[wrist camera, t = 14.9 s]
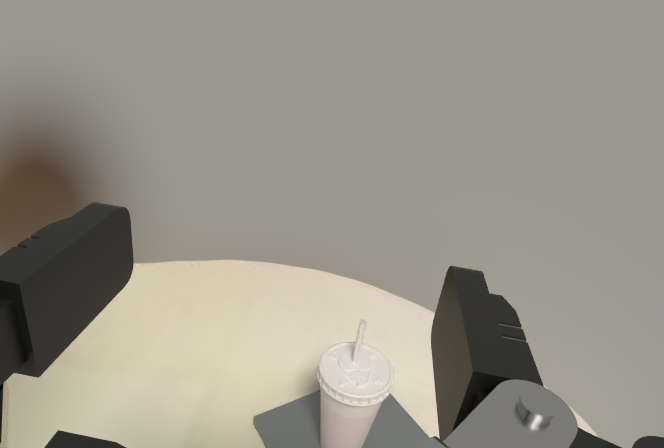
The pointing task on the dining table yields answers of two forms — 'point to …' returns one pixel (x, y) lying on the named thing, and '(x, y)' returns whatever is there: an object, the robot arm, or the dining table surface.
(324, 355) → the smoothie
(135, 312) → the dining table surface
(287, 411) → the coaster
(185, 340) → the dining table surface
